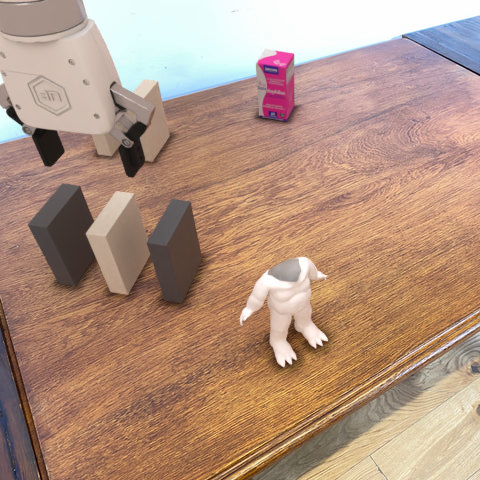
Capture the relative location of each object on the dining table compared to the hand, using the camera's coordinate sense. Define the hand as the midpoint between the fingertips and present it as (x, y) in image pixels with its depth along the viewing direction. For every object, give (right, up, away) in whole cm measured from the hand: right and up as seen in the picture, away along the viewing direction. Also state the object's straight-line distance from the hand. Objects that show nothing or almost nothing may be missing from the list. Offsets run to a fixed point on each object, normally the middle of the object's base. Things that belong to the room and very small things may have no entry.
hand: (95, 164), depth 58 cm
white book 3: (-4, +8, +34) cm, 35 cm away
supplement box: (+17, +16, +43) cm, 49 cm away
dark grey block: (-8, -12, +14) cm, 20 cm away
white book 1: (-12, +9, +34) cm, 37 cm away
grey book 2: (+7, -14, +12) cm, 20 cm away
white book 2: (-1, -13, +13) cm, 18 cm away
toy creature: (+22, -21, +6) cm, 31 cm away
